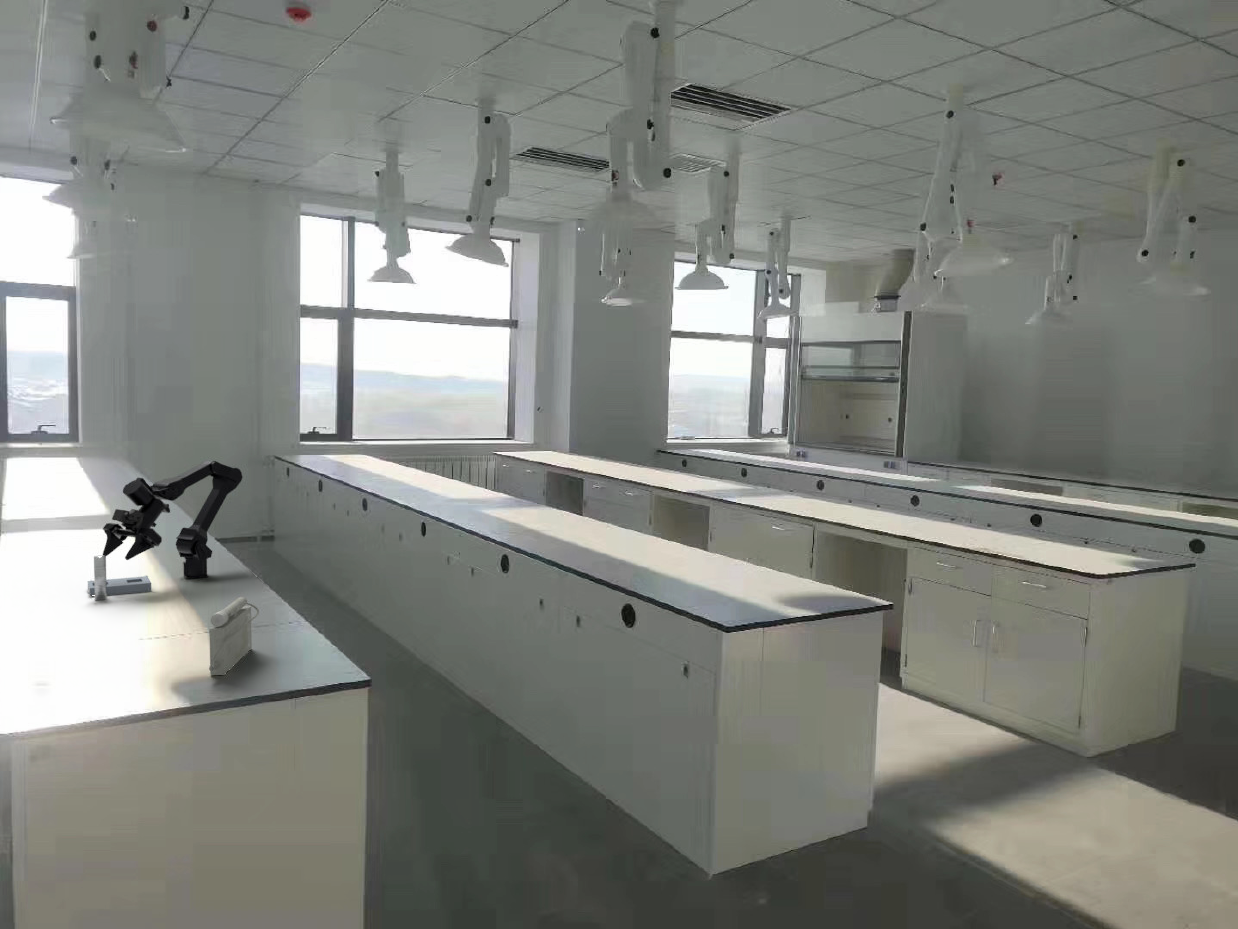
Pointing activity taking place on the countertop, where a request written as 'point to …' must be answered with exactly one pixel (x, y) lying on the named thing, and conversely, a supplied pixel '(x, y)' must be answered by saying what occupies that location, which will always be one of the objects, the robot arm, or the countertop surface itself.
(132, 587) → the socket block
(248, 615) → the geiger counter
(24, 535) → the countertop surface
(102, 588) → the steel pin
